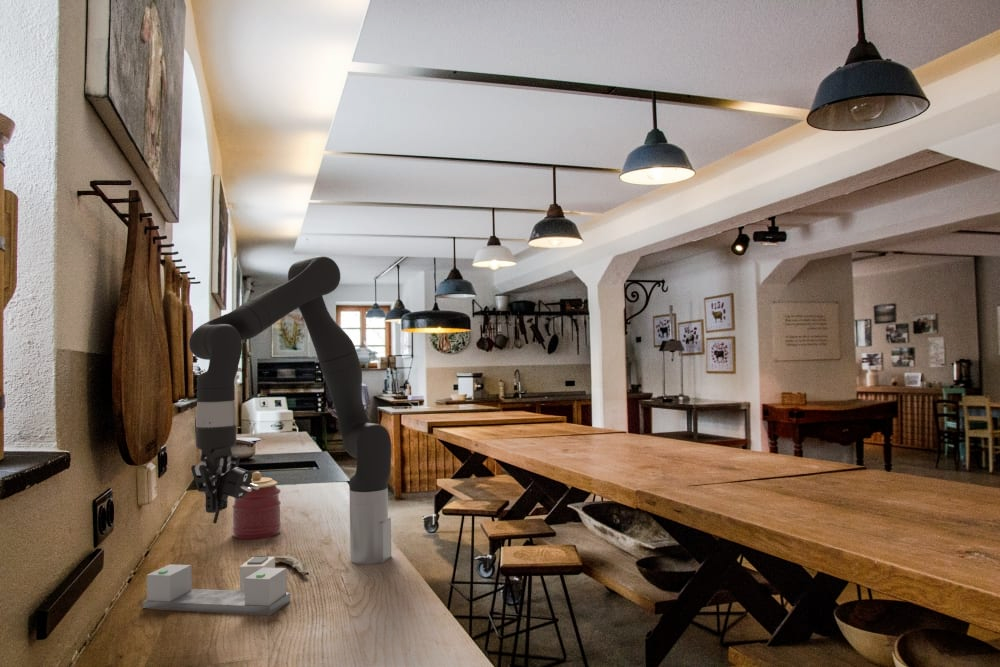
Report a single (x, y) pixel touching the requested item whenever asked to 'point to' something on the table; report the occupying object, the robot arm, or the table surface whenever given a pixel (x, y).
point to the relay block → (254, 567)
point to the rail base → (216, 603)
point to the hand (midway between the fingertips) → (216, 510)
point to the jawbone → (290, 562)
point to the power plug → (233, 486)
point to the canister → (257, 510)
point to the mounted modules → (177, 581)
